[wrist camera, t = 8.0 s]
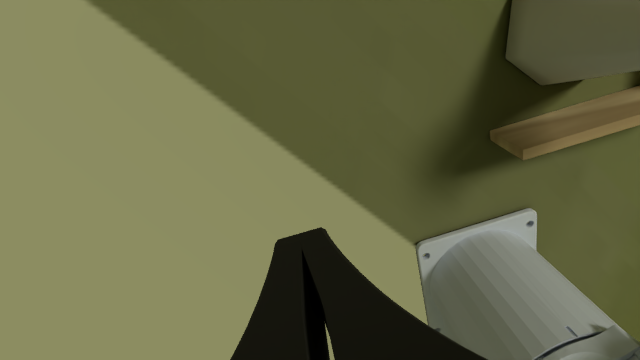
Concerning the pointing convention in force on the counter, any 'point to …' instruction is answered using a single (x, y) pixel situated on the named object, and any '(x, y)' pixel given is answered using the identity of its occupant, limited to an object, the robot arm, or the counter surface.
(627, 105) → the oak frame
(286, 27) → the counter surface
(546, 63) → the flask
